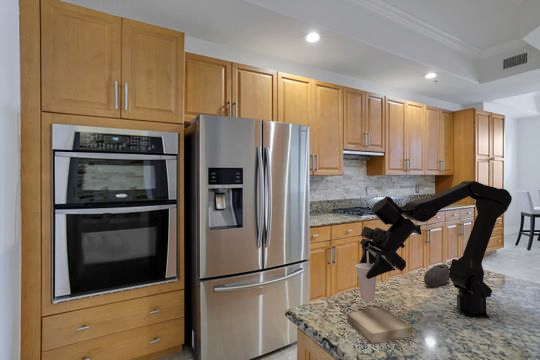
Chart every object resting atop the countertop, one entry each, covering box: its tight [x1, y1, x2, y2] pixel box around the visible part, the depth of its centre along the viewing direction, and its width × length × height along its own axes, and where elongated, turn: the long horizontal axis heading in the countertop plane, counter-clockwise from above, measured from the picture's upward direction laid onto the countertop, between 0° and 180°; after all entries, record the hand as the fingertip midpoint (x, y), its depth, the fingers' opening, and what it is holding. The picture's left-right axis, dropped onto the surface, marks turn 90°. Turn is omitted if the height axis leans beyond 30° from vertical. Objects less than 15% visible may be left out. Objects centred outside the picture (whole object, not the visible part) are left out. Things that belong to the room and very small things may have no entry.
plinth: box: [346, 307, 413, 345], centre depth 78 cm, size 12×12×2 cm
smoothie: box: [354, 251, 377, 302], centre depth 84 cm, size 6×6×14 cm
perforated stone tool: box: [423, 263, 450, 288], centre depth 111 cm, size 15×5×7 cm, turn 119°
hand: (362, 274), depth 84 cm, fingers closed on smoothie, 6 cm apart
